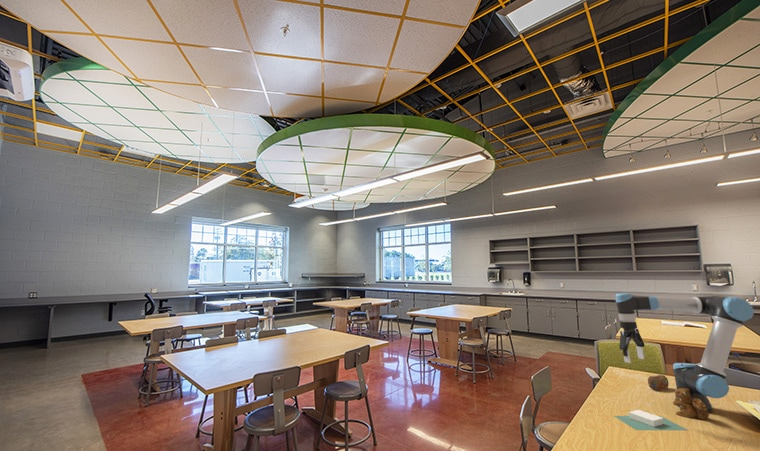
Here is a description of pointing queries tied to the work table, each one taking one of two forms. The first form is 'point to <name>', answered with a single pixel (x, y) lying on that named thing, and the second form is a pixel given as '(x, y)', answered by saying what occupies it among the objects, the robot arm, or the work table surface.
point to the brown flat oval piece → (658, 382)
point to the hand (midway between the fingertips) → (634, 360)
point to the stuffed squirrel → (690, 405)
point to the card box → (646, 418)
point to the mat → (640, 426)
